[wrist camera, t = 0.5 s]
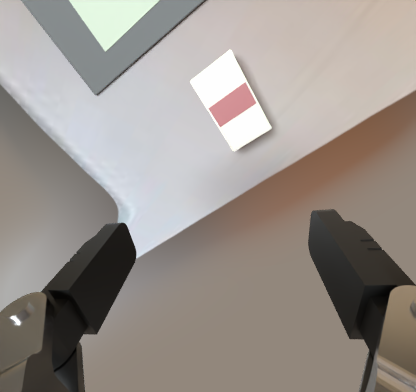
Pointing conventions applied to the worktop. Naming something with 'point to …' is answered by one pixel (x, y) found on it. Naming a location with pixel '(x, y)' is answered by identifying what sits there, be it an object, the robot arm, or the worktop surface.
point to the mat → (107, 32)
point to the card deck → (231, 101)
